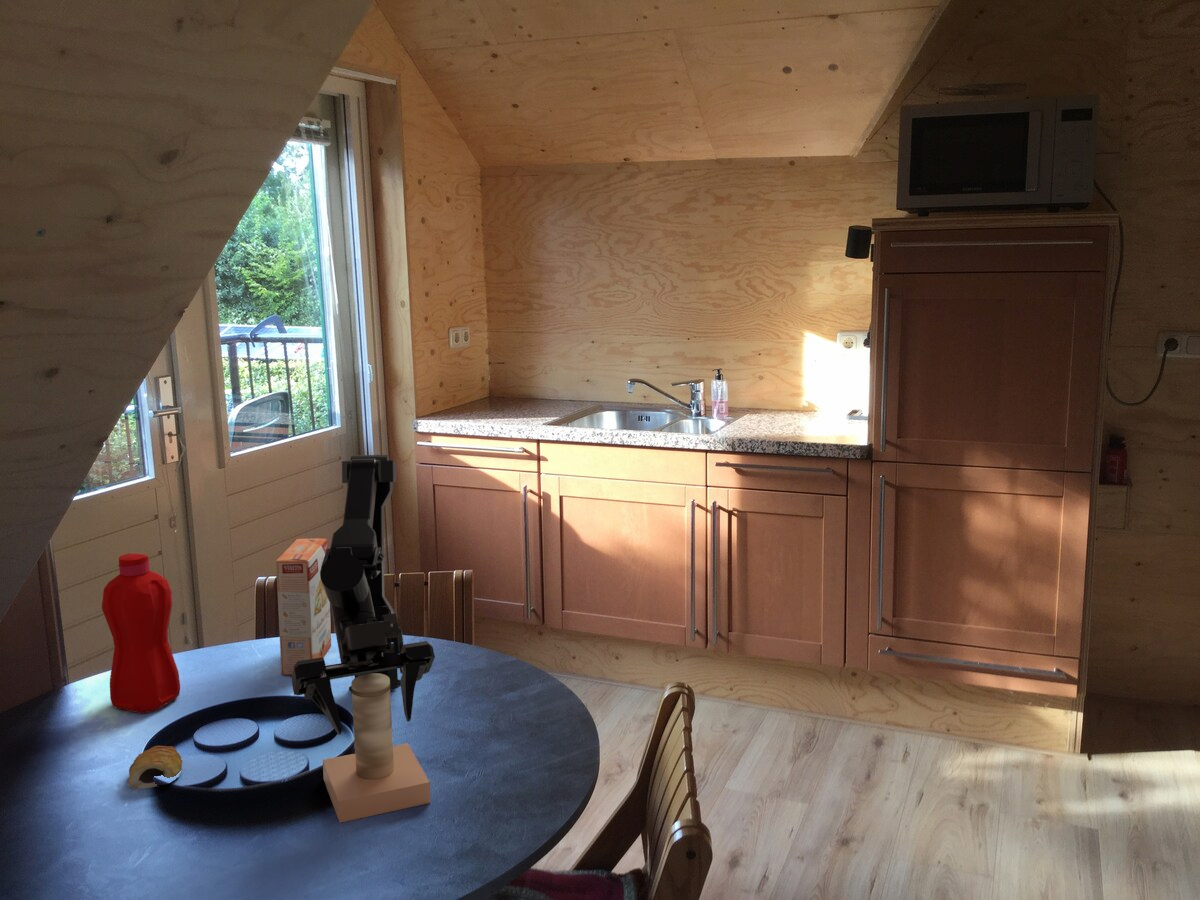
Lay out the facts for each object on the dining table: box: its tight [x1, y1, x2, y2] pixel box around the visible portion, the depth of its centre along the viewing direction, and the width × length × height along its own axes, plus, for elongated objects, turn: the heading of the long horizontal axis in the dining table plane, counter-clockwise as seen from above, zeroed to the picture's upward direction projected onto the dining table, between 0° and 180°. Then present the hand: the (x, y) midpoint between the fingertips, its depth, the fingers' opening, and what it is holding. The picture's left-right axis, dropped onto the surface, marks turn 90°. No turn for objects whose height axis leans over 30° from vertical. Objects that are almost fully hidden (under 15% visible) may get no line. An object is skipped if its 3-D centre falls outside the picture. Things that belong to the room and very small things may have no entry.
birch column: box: [350, 673, 394, 780], centre depth 140 cm, size 5×5×13 cm
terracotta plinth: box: [322, 742, 431, 824], centre depth 142 cm, size 12×12×3 cm
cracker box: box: [275, 537, 332, 676], centre depth 184 cm, size 14×6×21 cm, turn 1°
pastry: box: [127, 745, 183, 791], centre depth 147 cm, size 9×7×4 cm
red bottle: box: [101, 552, 181, 714], centre depth 168 cm, size 9×11×25 cm
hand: (375, 726), depth 139 cm, fingers open, 9 cm apart
